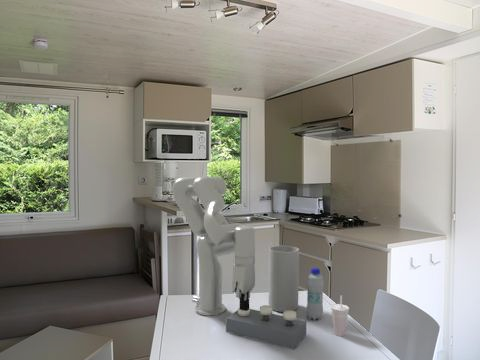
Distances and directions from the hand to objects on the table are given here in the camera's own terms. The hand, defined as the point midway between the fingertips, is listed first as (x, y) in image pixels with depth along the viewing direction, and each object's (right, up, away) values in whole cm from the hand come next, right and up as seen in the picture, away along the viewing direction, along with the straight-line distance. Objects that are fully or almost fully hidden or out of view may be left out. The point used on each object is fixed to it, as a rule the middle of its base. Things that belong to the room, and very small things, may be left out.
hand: (244, 309), depth 136 cm
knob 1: (0, -6, 0) cm, 6 cm away
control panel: (+8, -7, -4) cm, 11 cm away
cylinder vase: (+17, -7, +21) cm, 28 cm away
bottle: (+28, -7, +10) cm, 31 cm away
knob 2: (+16, -4, -8) cm, 18 cm away
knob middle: (+8, -4, -4) cm, 10 cm away
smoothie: (+34, -8, -4) cm, 35 cm away
